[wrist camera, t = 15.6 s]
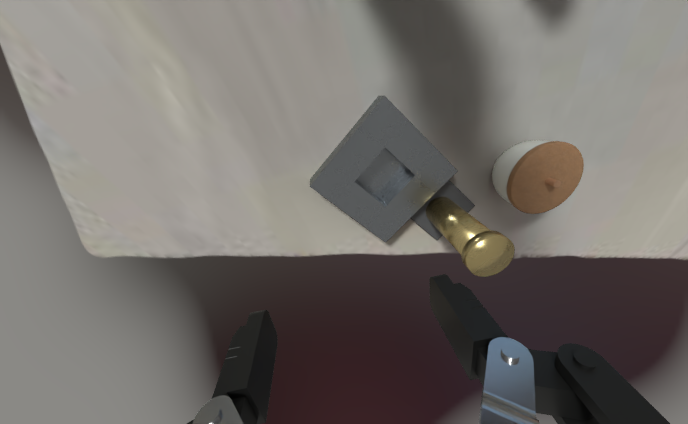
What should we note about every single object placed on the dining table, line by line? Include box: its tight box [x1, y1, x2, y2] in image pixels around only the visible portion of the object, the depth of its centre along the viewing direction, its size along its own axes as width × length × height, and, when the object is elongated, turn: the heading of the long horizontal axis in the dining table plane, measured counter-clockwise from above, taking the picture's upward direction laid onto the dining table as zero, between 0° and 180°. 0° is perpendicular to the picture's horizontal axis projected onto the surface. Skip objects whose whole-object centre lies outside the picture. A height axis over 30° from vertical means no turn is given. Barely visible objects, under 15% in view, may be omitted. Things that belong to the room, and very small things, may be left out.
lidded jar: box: [492, 140, 584, 214], centre depth 39 cm, size 11×11×9 cm
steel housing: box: [310, 96, 457, 242], centre depth 40 cm, size 16×16×4 cm
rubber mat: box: [411, 180, 475, 240], centre depth 45 cm, size 9×9×1 cm
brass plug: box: [426, 196, 515, 277], centre depth 38 cm, size 6×6×14 cm
